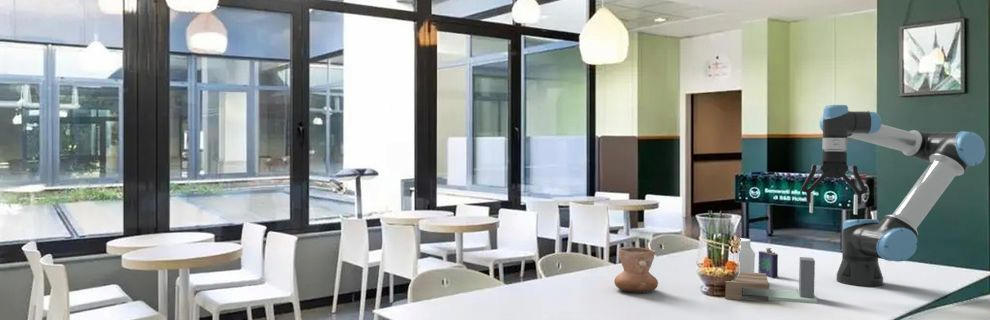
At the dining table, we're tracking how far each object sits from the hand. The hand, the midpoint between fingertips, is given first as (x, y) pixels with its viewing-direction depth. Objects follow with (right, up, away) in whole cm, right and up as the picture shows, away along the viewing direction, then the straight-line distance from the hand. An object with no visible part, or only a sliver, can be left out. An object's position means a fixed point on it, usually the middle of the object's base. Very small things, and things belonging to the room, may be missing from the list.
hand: (833, 213), depth 239 cm
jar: (-25, -26, +20) cm, 42 cm away
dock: (-31, -26, -4) cm, 41 cm away
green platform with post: (-21, -27, -7) cm, 35 cm away
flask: (-11, -26, +29) cm, 40 cm away
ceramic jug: (-67, -26, 0) cm, 72 cm away
